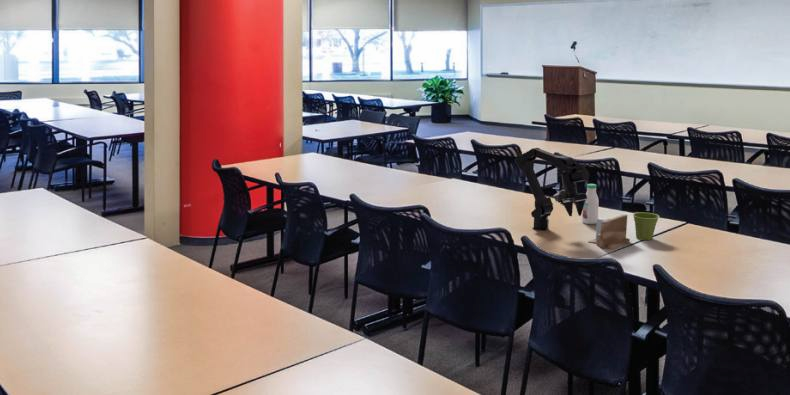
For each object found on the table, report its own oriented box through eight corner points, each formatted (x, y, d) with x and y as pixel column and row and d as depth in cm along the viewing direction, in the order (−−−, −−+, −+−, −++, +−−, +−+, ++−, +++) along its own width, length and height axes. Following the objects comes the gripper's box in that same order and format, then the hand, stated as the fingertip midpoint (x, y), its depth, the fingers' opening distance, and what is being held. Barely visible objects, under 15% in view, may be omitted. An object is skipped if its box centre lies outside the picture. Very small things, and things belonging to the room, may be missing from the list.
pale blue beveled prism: (595, 240, 335) (596, 218, 333) (601, 238, 339) (602, 217, 336) (605, 242, 332) (606, 220, 329) (611, 240, 335) (612, 218, 333)
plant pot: (630, 240, 337) (631, 217, 335) (632, 234, 348) (633, 211, 346) (657, 242, 333) (659, 219, 331) (658, 236, 344) (659, 213, 341)
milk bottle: (598, 221, 373) (600, 183, 368) (597, 225, 365) (599, 186, 361) (582, 220, 375) (584, 182, 371) (581, 223, 368) (583, 185, 364)
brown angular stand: (583, 244, 331) (584, 218, 329) (605, 235, 345) (606, 211, 343) (609, 249, 322) (611, 223, 320) (631, 241, 336) (633, 216, 333)
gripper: (545, 187, 349) (551, 219, 349) (562, 185, 331) (569, 218, 331) (565, 183, 352) (571, 215, 351) (584, 180, 334) (590, 214, 333)
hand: (575, 215), depth 342 cm, fingers open, 9 cm apart
